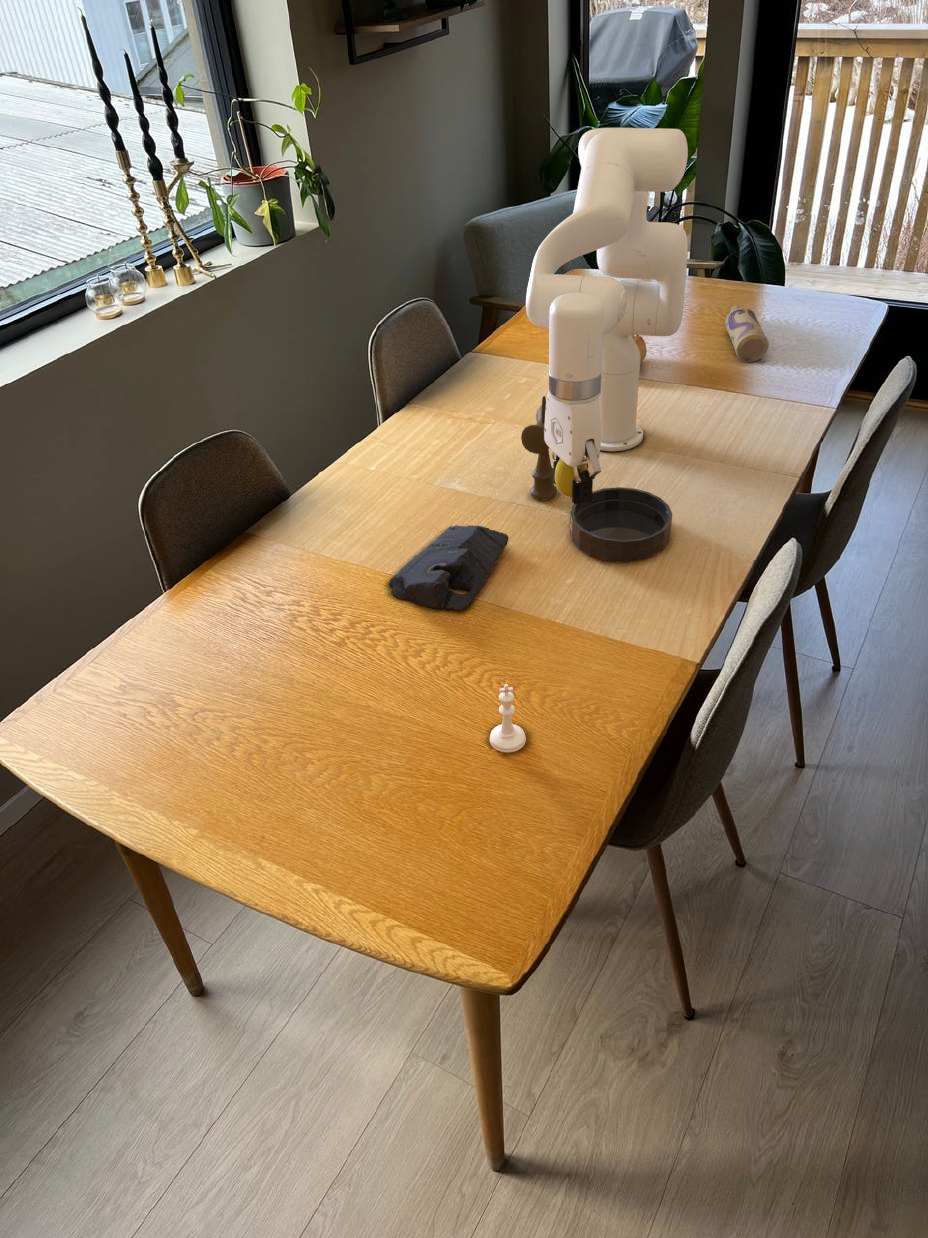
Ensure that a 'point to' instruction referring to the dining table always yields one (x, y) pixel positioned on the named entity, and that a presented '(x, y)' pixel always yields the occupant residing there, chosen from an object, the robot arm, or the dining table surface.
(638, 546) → the pan
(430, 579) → the dark slate chunk
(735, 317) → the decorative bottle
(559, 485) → the lemon
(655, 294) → the robot arm
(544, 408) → the kendama
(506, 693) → the chess piece
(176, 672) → the dining table surface
